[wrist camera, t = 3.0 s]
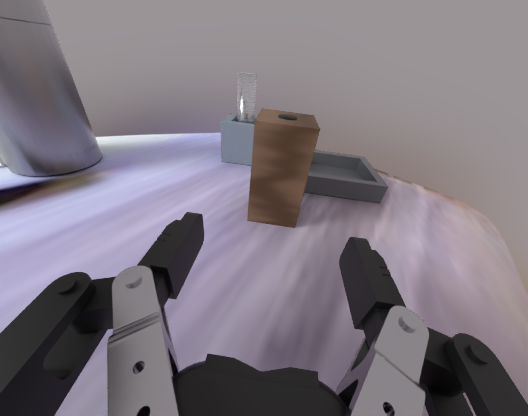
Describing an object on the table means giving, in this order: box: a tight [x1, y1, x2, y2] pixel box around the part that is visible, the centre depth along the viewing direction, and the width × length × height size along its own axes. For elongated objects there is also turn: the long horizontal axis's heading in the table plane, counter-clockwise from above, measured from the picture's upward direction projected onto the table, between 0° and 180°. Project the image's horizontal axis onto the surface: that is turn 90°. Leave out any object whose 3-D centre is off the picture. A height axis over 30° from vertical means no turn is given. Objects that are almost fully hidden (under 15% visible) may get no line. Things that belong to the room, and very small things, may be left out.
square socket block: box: [221, 113, 256, 165], centre depth 33 cm, size 6×6×6 cm
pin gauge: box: [237, 72, 257, 124], centre depth 31 cm, size 3×3×12 cm
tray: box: [304, 150, 388, 203], centre depth 31 cm, size 12×10×2 cm
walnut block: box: [248, 109, 320, 228], centre depth 20 cm, size 5×5×10 cm
